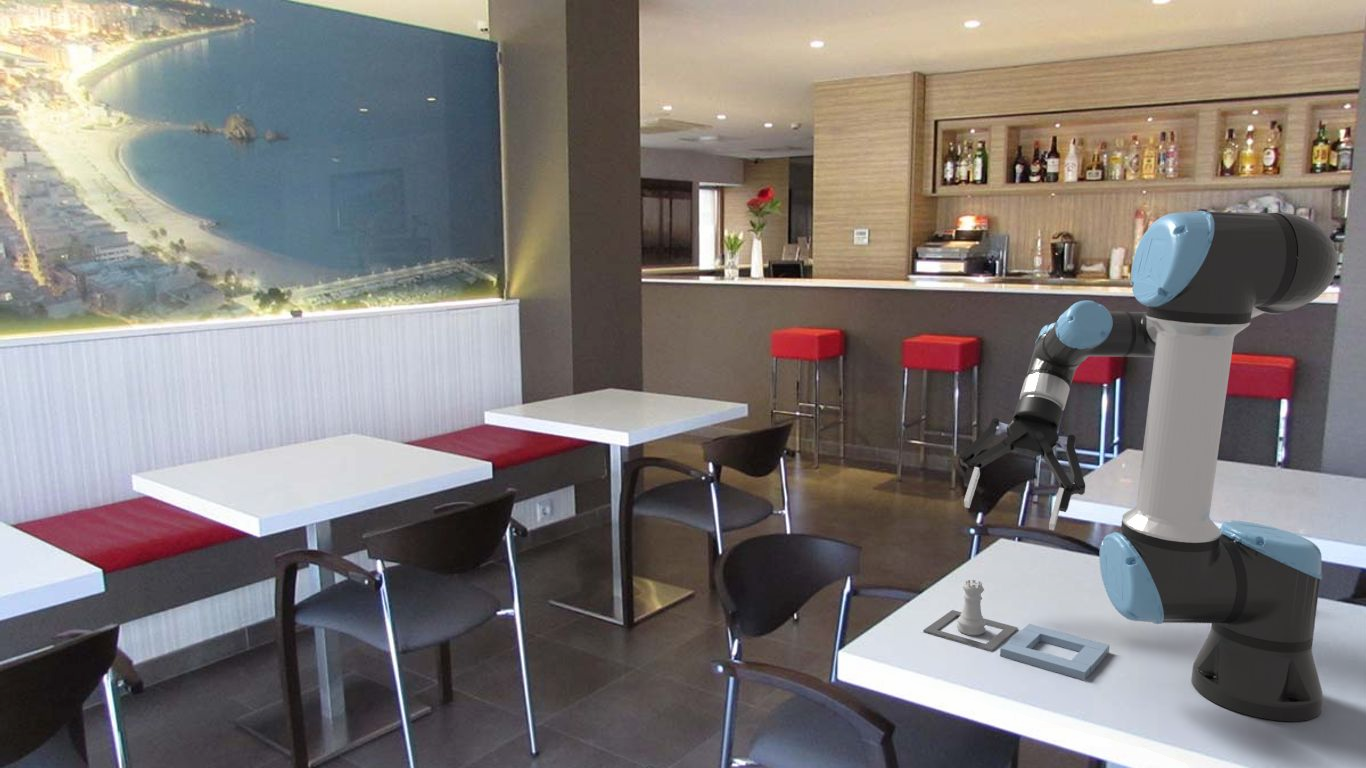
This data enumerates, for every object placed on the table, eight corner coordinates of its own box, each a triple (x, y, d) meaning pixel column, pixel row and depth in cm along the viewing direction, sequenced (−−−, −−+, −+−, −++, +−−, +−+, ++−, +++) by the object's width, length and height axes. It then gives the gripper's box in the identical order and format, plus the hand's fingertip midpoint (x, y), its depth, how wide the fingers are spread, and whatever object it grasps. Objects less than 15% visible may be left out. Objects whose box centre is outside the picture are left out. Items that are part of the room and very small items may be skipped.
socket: (1109, 652, 138) (1109, 644, 138) (1084, 680, 129) (1085, 672, 129) (1028, 630, 146) (1028, 623, 146) (999, 655, 137) (1000, 648, 137)
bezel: (1018, 629, 147) (1018, 627, 146) (991, 651, 138) (991, 649, 138) (952, 611, 153) (952, 609, 153) (923, 631, 145) (923, 630, 145)
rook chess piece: (966, 637, 143) (969, 588, 142) (950, 626, 147) (953, 578, 146) (991, 635, 144) (994, 586, 143) (975, 624, 149) (978, 576, 147)
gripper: (1117, 432, 156) (1088, 545, 148) (969, 400, 168) (935, 504, 160) (1120, 411, 150) (1090, 528, 142) (966, 380, 161) (931, 486, 154)
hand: (1008, 515), depth 151 cm, fingers open, 13 cm apart
